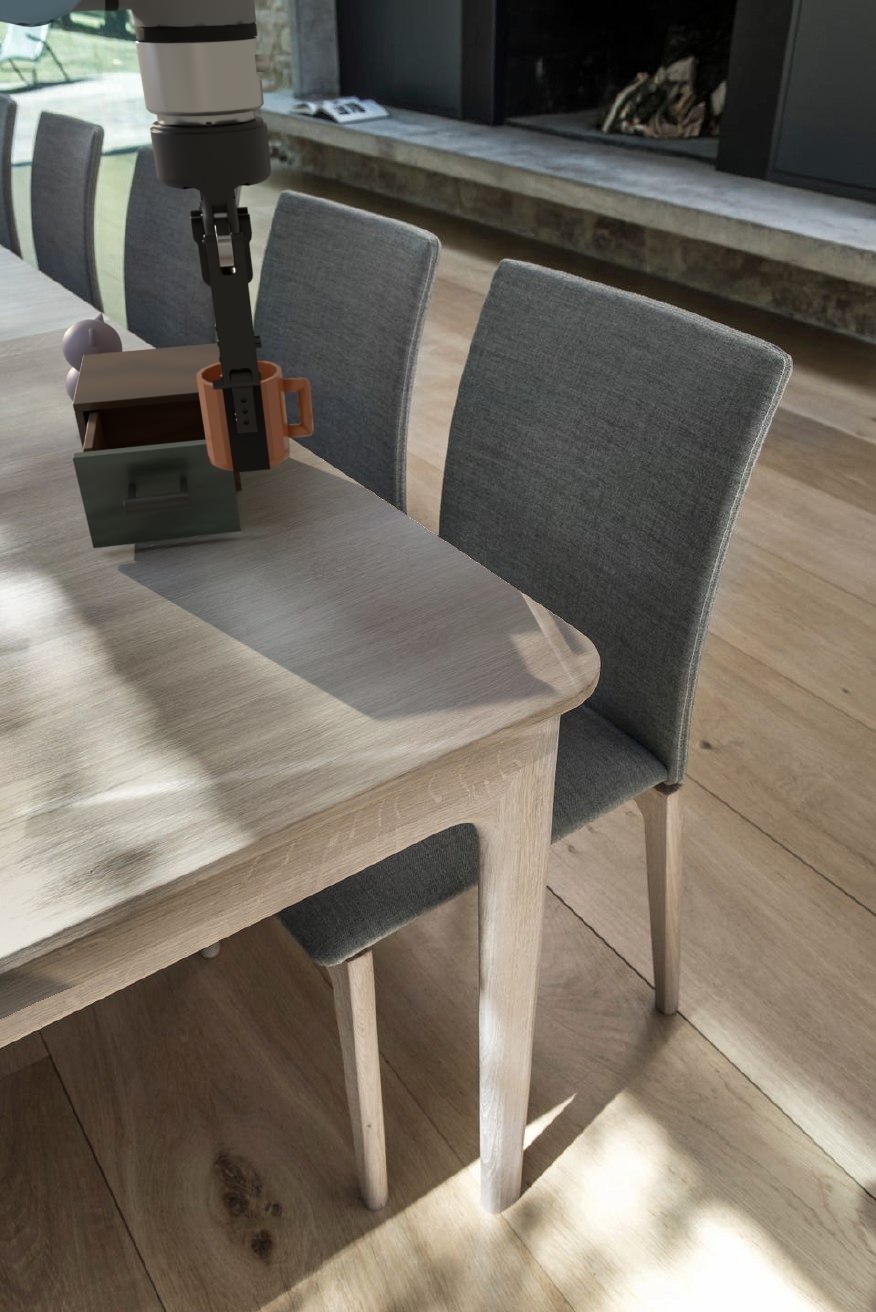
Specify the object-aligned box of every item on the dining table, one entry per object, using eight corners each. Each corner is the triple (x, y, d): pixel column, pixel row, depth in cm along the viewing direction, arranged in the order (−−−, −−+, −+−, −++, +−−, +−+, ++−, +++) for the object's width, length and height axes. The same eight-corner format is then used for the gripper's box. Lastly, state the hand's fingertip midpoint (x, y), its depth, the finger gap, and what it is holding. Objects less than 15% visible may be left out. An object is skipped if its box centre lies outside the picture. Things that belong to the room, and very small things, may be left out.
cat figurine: (79, 412, 128) (56, 312, 121) (145, 407, 129) (126, 307, 122) (70, 438, 121) (46, 333, 114) (140, 432, 122) (120, 328, 115)
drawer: (244, 554, 94) (231, 462, 89) (90, 572, 92) (68, 479, 87) (233, 470, 110) (221, 388, 105) (101, 484, 107) (83, 401, 102)
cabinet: (242, 490, 108) (228, 389, 102) (95, 506, 105) (72, 404, 99) (233, 434, 120) (221, 342, 114) (103, 448, 118) (83, 354, 112)
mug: (209, 475, 78) (197, 389, 74) (208, 444, 83) (195, 363, 79) (320, 464, 79) (312, 379, 75) (311, 434, 84) (304, 354, 81)
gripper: (276, 132, 61) (310, 498, 73) (256, 98, 76) (287, 405, 89) (144, 138, 59) (201, 509, 72) (151, 103, 75) (197, 412, 88)
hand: (249, 451), depth 81 cm, fingers closed on mug, 6 cm apart
